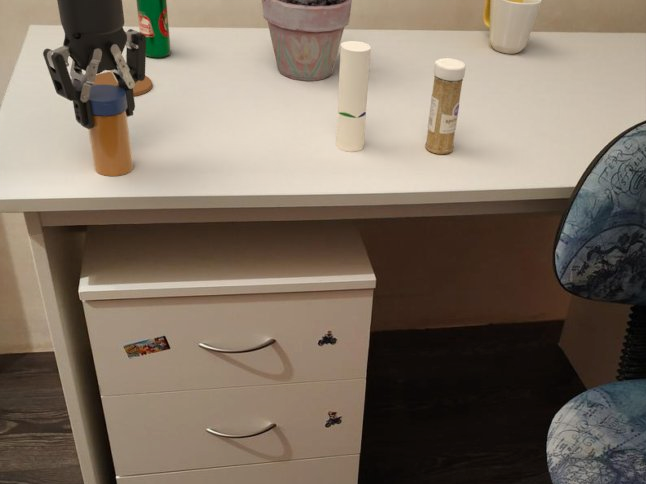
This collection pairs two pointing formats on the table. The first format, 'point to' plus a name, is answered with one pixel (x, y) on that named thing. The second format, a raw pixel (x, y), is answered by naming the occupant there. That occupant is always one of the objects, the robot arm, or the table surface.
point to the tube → (352, 95)
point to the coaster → (109, 79)
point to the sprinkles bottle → (444, 105)
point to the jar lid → (107, 100)
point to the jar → (111, 144)
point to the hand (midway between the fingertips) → (107, 119)
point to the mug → (510, 23)
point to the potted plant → (306, 35)
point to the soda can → (154, 27)
